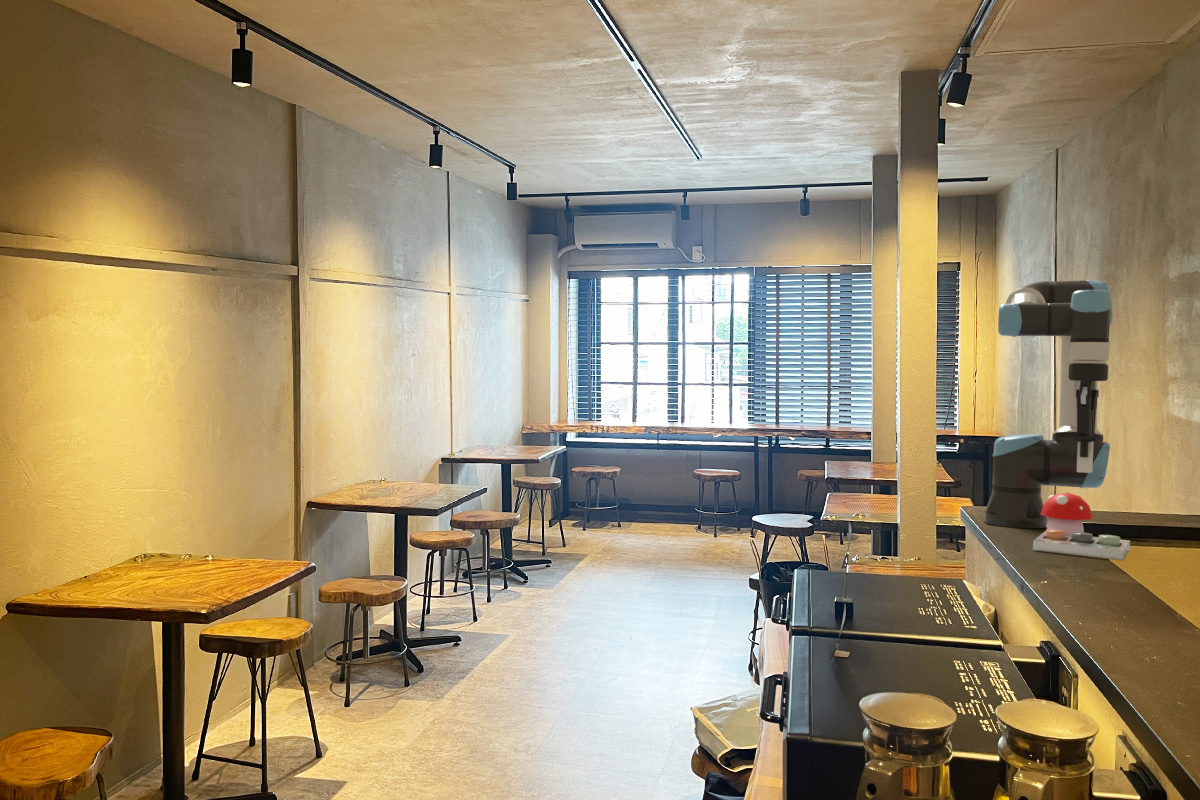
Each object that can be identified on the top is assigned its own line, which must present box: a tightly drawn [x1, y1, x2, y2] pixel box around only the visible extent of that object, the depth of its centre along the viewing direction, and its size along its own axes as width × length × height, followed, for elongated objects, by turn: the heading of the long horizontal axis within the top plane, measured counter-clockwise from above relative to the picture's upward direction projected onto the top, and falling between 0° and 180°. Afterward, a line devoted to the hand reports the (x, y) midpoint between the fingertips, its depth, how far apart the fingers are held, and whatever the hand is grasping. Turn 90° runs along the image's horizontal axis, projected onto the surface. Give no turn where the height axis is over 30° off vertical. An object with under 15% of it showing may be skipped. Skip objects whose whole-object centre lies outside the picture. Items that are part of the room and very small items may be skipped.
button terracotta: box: [1045, 528, 1066, 541], centre depth 204 cm, size 4×4×2 cm
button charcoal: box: [1072, 531, 1094, 544], centre depth 201 cm, size 4×4×2 cm
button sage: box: [1098, 534, 1121, 547], centre depth 199 cm, size 4×4×2 cm
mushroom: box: [1041, 492, 1094, 534], centre depth 216 cm, size 11×11×12 cm
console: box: [1032, 531, 1131, 562], centre depth 202 cm, size 14×17×4 cm
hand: (1084, 471), depth 201 cm, fingers closed
